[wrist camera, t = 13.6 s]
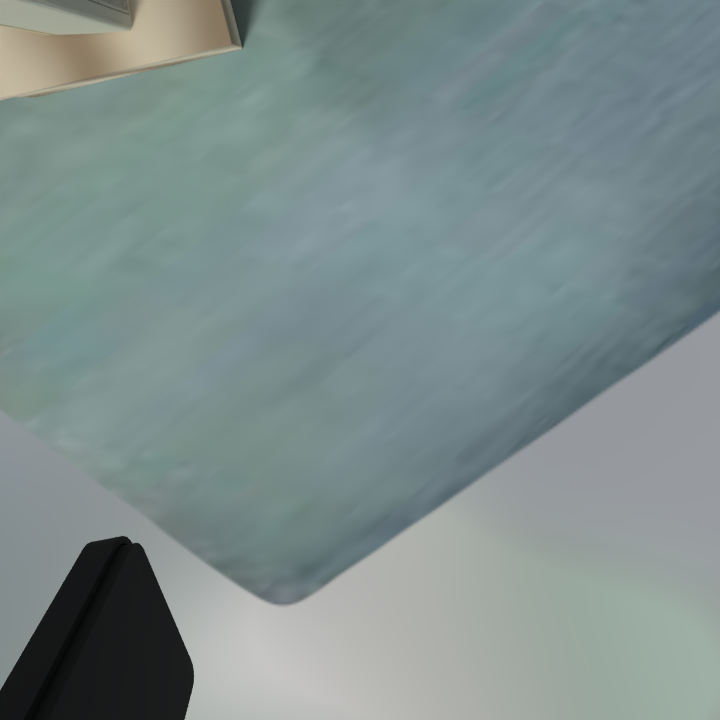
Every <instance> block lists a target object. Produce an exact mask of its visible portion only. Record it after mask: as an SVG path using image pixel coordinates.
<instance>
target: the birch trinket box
mask: <svg viewBox="0 0 720 720" xmlns="http://www.w3.org/2000/svg"><path fill="white" fill-rule="evenodd" d="M128 1H129V8H130V15H131V22H132V28H131V30H129V31H126V32H112V33H93V34H69V35H42V34H37V33H33V32H28V31H22V30H17V29H12V28H7V27H1V26H0V100H3V99H8V98H12V97H38V96H42V95H47V94H51V93H55V92H59V91H64V90H68V89H72V88H76V87H81V86H85V85H89V84H94V83H98V82H102V81H106V80H111V79H115V78H119V77H123V76H128V75H132V74H136V73H141V72H145V71H149V70H153V69H158V68H162V67H166V66H170V65H175V64H179V63H183V62H187V61H192V60H196V59H200V58H205V57H209V56H213V55H217V54H222V53H226V52H230V51H234V50H239V49H243V48H242V44H241V40H240V36H239V32H238V28H237V24H236V20H235V17H234V13H233V9H232V5H231V1H230V0H128Z"/></svg>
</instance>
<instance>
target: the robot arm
mask: <svg viewBox="0 0 720 720" xmlns="http://www.w3.org/2000/svg"><path fill="white" fill-rule="evenodd" d="M193 683H194V671H193V664H192V662H191V659H190V656H189V654H188V652H187V649H186V647H185V645H184V642H183V640H182V638H181V635H180V633H179V631H178V628H177V626H176V624H175V621H174V619H173V617H172V614H171V612H170V610H169V607H168V605H167V603H166V600H165V598H164V596H163V593H162V591H161V589H160V586H159V584H158V582H157V579H156V577H155V575H154V572H153V570H152V568H151V565H150V563H149V561H148V558H147V556H146V554H145V551H144V549H143V547H142V546H141V545H140V544H139V543H133V544H132V542H131V541H130V539H128V538H127V537H125V536H121V537H115V538H110V539H105V540H100V541H95V542H90V543H88V544H87V545H86V546H85V547H84V548H83V550H82V552H81V553H80V555H79V557H78V558H77V560H76V562H75V564H74V566H73V567H72V569H71V570H70V572H69V574H68V576H67V577H66V579H65V581H64V582H63V584H62V586H61V588H60V589H59V591H58V593H57V594H56V596H55V598H54V600H53V601H52V603H51V605H50V606H49V608H48V610H47V611H46V613H45V615H44V617H43V618H42V620H41V622H40V623H39V625H38V627H37V629H36V630H35V632H34V634H33V635H32V637H31V639H30V641H29V642H28V644H27V646H26V647H25V649H24V651H23V652H22V654H21V656H20V658H19V659H18V661H17V663H16V665H15V666H14V668H13V670H12V672H11V673H10V675H9V676H8V678H7V680H6V682H5V683H4V685H3V687H2V688H1V690H0V720H184V719H185V715H186V711H187V708H188V704H189V700H190V696H191V692H192V688H193Z"/></svg>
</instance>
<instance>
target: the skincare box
mask: <svg viewBox="0 0 720 720" xmlns="http://www.w3.org/2000/svg"><path fill="white" fill-rule="evenodd" d="M0 26H1V27H7V28H12V29H17V30H22V31H28V32H33V33H37V34H42V35H69V34H93V33H112V32H126V31H129V30H131V28H132V22H131V15H130V8H129V1H128V0H0Z"/></svg>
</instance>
